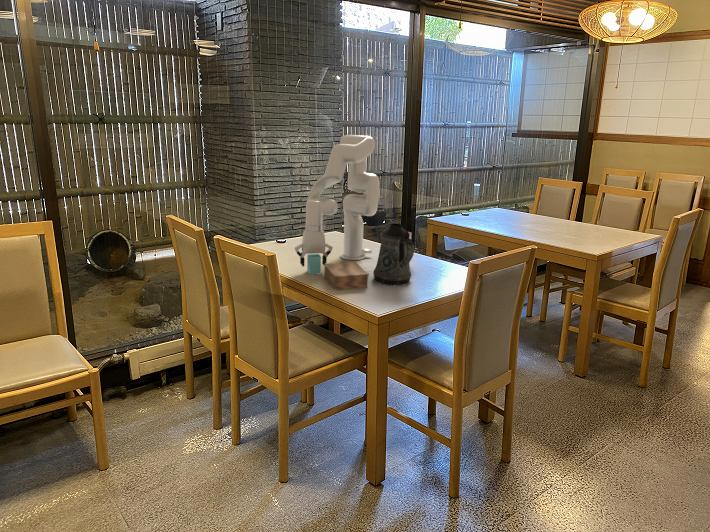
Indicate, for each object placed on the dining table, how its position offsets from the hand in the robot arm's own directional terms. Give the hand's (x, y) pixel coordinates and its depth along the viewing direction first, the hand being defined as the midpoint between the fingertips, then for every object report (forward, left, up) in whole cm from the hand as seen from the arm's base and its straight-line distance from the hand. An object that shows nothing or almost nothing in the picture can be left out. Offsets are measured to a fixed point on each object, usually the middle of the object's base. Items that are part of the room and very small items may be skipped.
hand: (313, 265), depth 240 cm
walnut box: (-10, +17, -3) cm, 20 cm away
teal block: (0, 0, -4) cm, 3 cm away
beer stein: (-32, +19, -4) cm, 38 cm away
